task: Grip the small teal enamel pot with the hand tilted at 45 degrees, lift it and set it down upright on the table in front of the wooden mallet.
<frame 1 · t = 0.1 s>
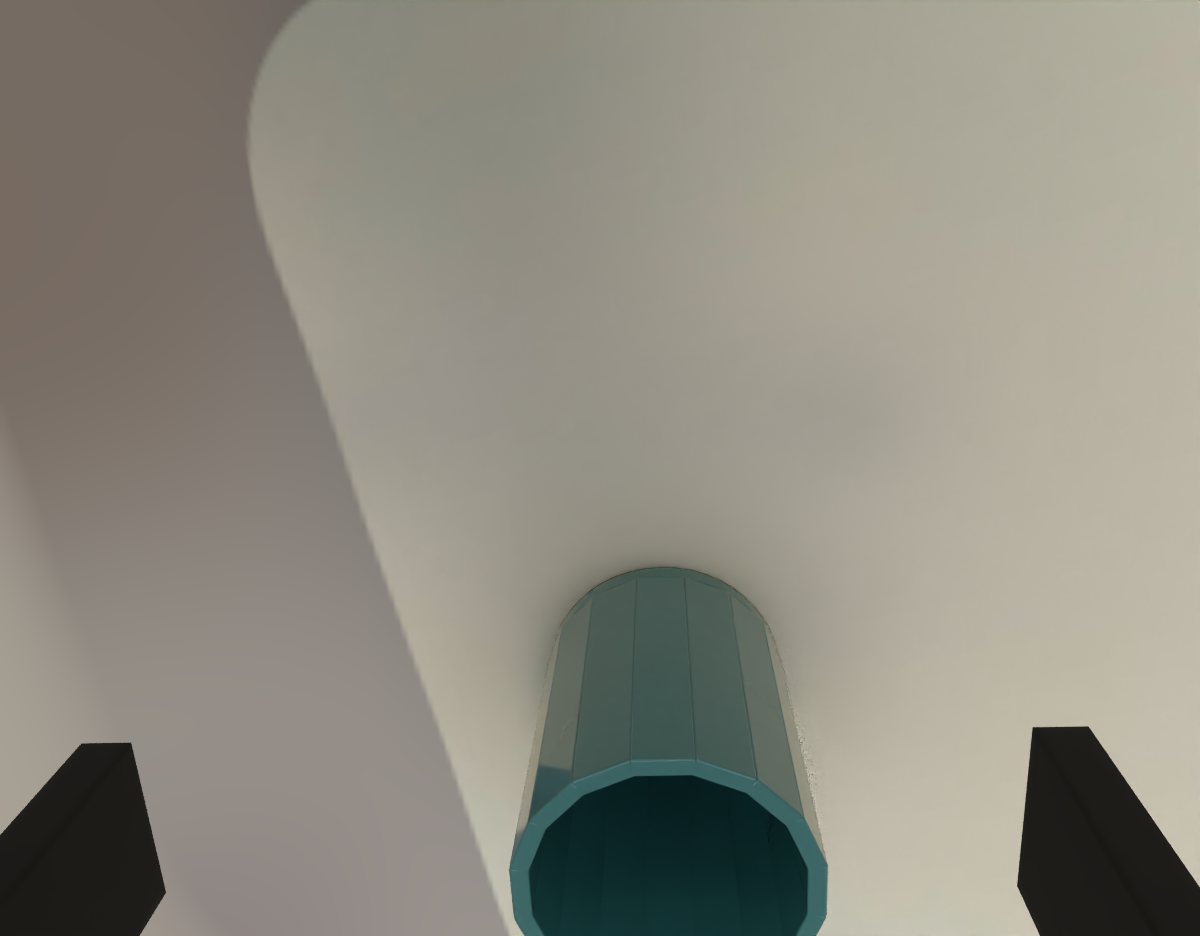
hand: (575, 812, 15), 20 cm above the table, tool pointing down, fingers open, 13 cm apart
pot: (664, 670, 37), on the table
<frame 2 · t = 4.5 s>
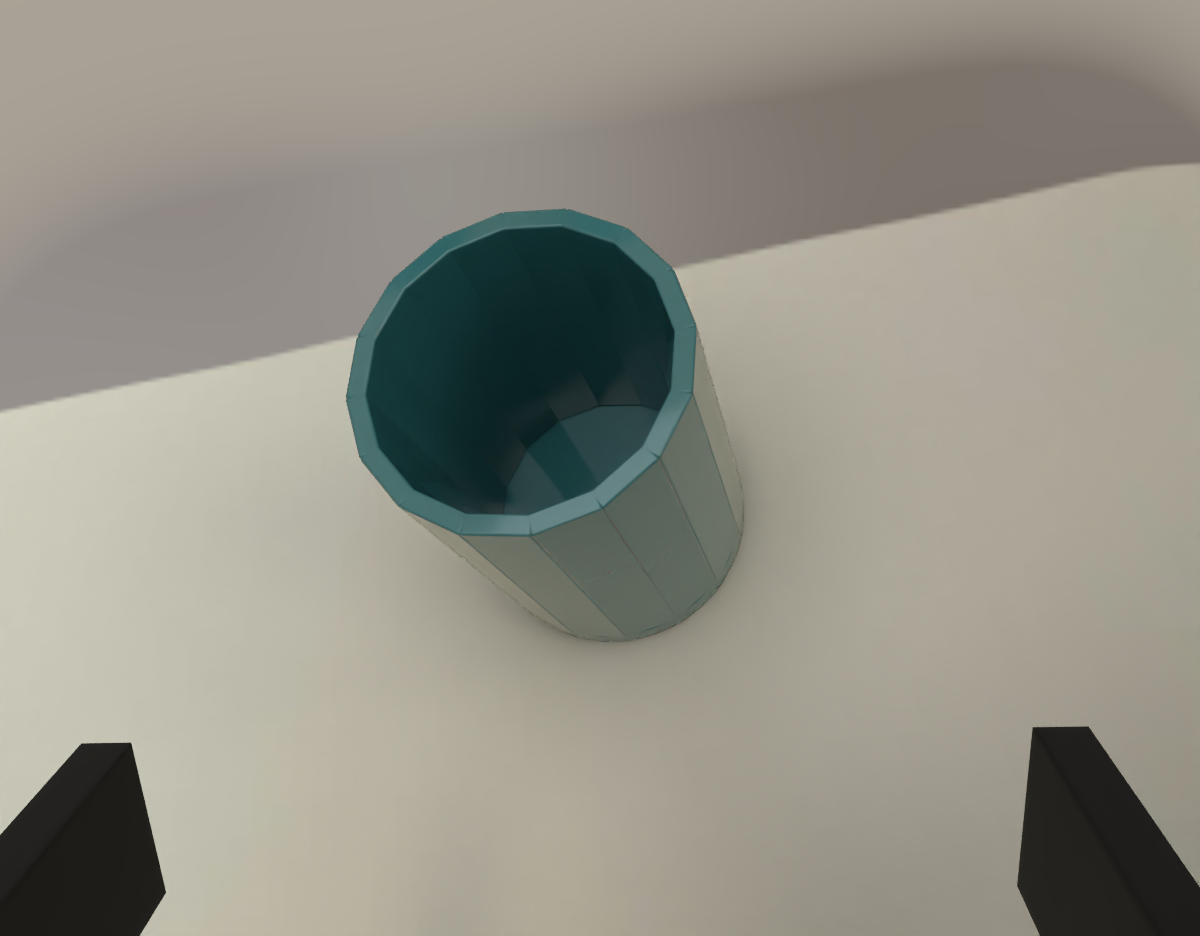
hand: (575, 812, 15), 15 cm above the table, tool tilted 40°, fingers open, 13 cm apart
pot: (616, 516, 33), on the table
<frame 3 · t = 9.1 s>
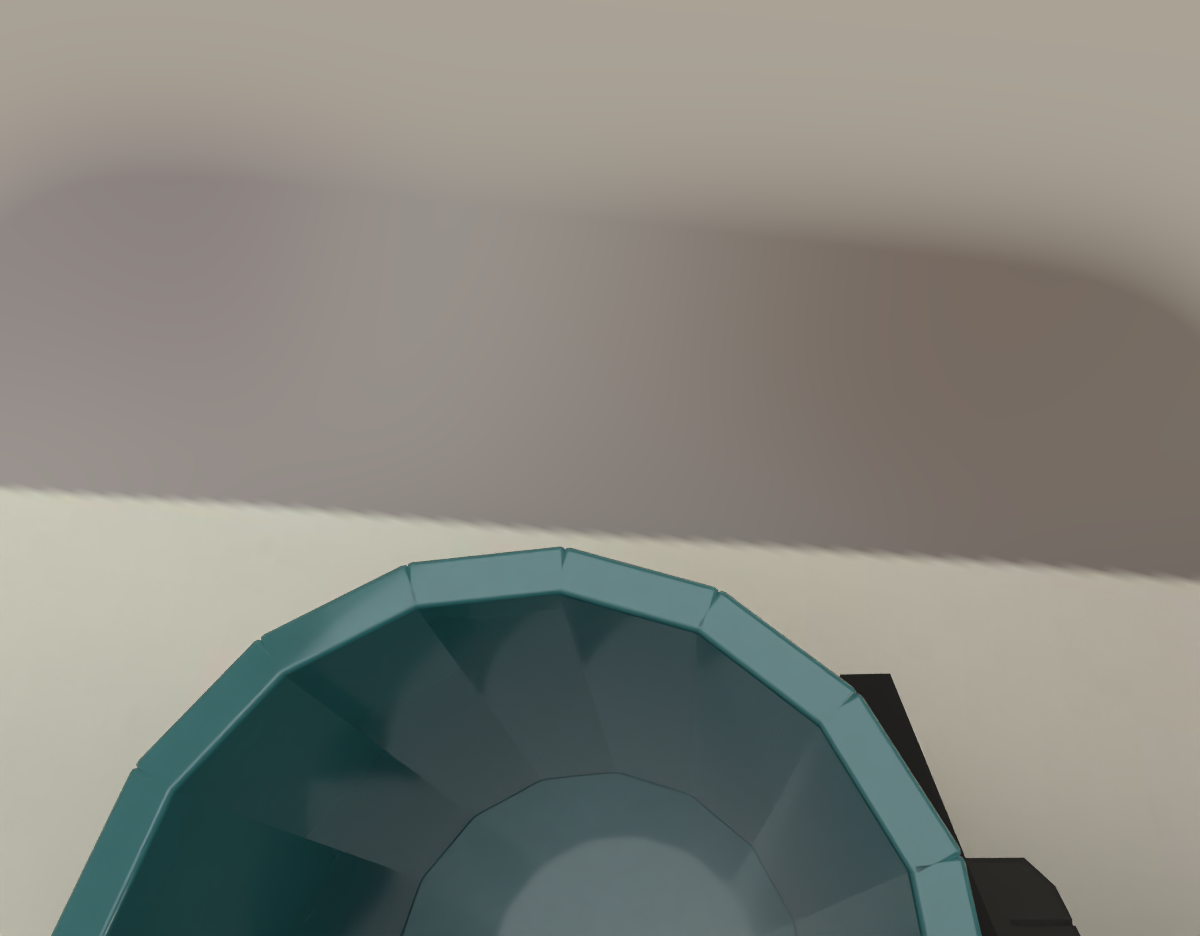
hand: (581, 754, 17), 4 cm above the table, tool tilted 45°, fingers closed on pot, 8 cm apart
when the fingers open (4 cm above the table, at t = 20.1 s): pot stays where it is, on the table.
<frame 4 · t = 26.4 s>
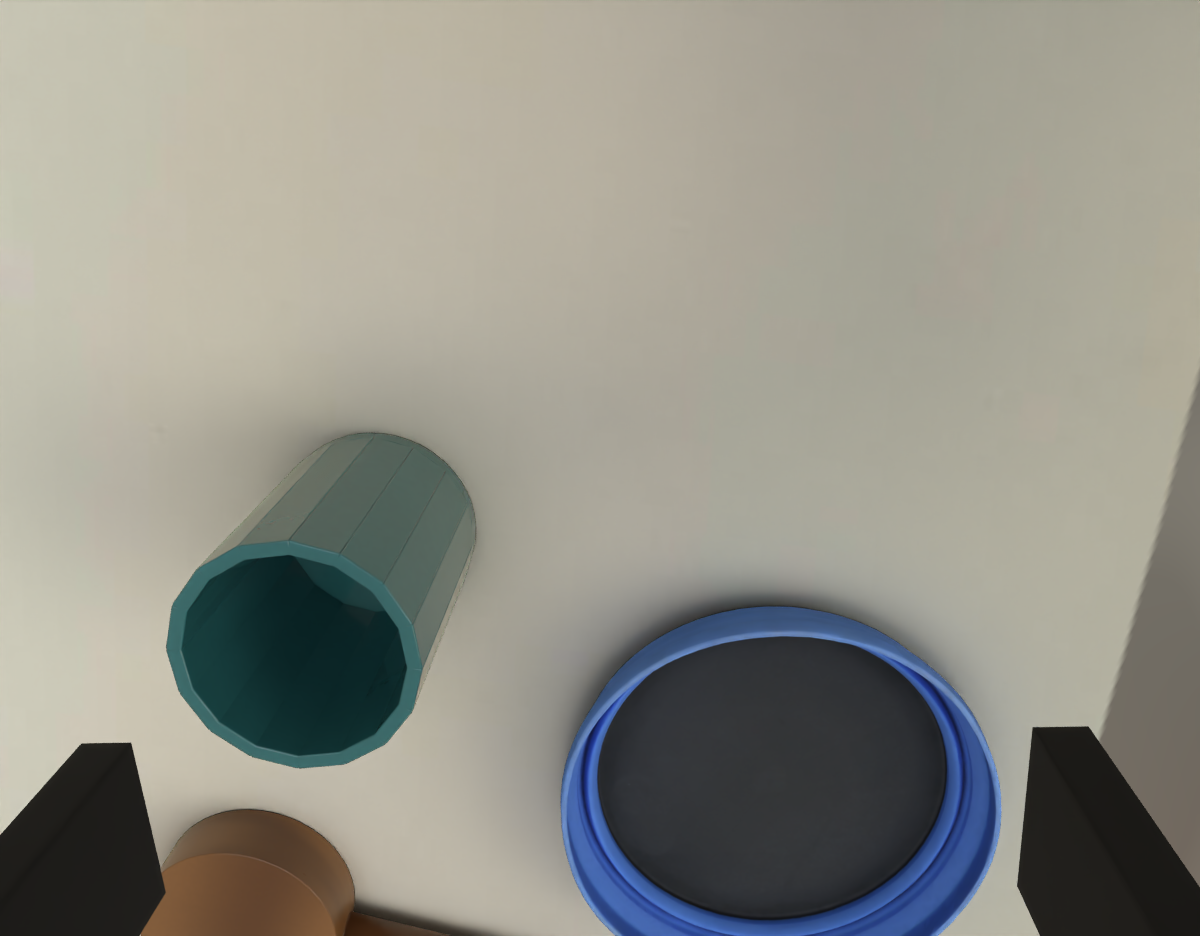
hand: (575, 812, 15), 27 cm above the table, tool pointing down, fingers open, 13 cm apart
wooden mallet: (261, 888, 50), on the table
pot: (379, 524, 43), on the table
bowl: (769, 771, 46), on the table
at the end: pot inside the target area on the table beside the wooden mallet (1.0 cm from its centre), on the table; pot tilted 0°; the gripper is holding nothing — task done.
